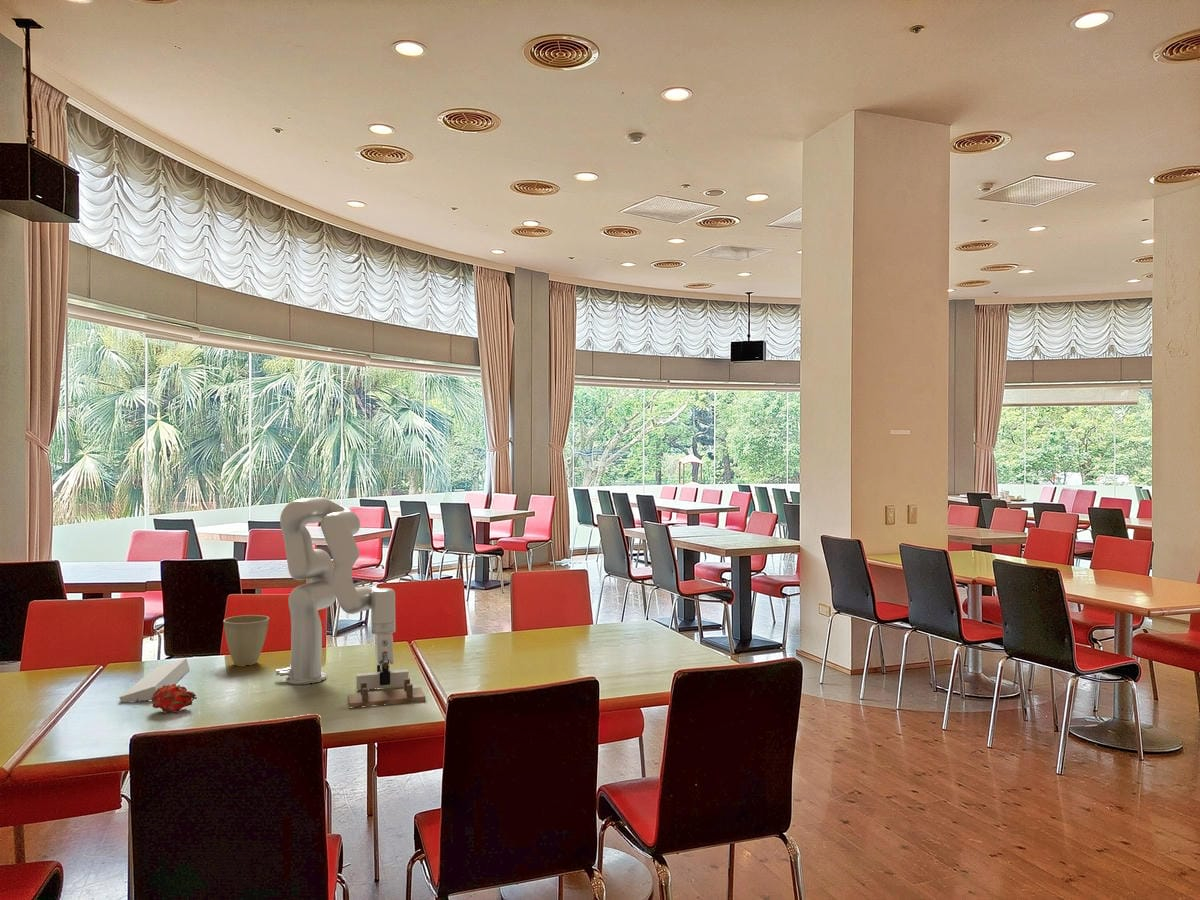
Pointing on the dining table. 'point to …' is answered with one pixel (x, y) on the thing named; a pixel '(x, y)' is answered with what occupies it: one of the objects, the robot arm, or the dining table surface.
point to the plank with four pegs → (386, 696)
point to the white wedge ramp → (156, 681)
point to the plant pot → (245, 637)
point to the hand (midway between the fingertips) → (383, 680)
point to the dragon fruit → (172, 698)
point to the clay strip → (374, 679)
